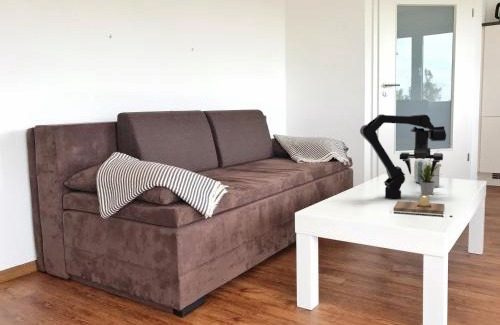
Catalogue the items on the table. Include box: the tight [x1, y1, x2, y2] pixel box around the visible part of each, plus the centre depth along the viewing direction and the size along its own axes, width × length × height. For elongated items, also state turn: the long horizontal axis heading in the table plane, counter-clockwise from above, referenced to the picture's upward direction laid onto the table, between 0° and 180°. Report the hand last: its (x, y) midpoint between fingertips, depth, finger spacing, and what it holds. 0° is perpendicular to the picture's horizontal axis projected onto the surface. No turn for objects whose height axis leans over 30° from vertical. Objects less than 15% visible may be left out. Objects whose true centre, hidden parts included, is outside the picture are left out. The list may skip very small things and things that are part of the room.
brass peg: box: [418, 194, 431, 208], centre depth 191 cm, size 4×4×7 cm
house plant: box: [417, 162, 443, 196], centre depth 227 cm, size 14×14×16 cm
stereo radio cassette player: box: [413, 151, 442, 188], centre depth 254 cm, size 21×8×20 cm, turn 178°
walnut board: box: [393, 200, 445, 218], centre depth 197 cm, size 19×23×3 cm
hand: (420, 174), depth 214 cm, fingers open, 9 cm apart
